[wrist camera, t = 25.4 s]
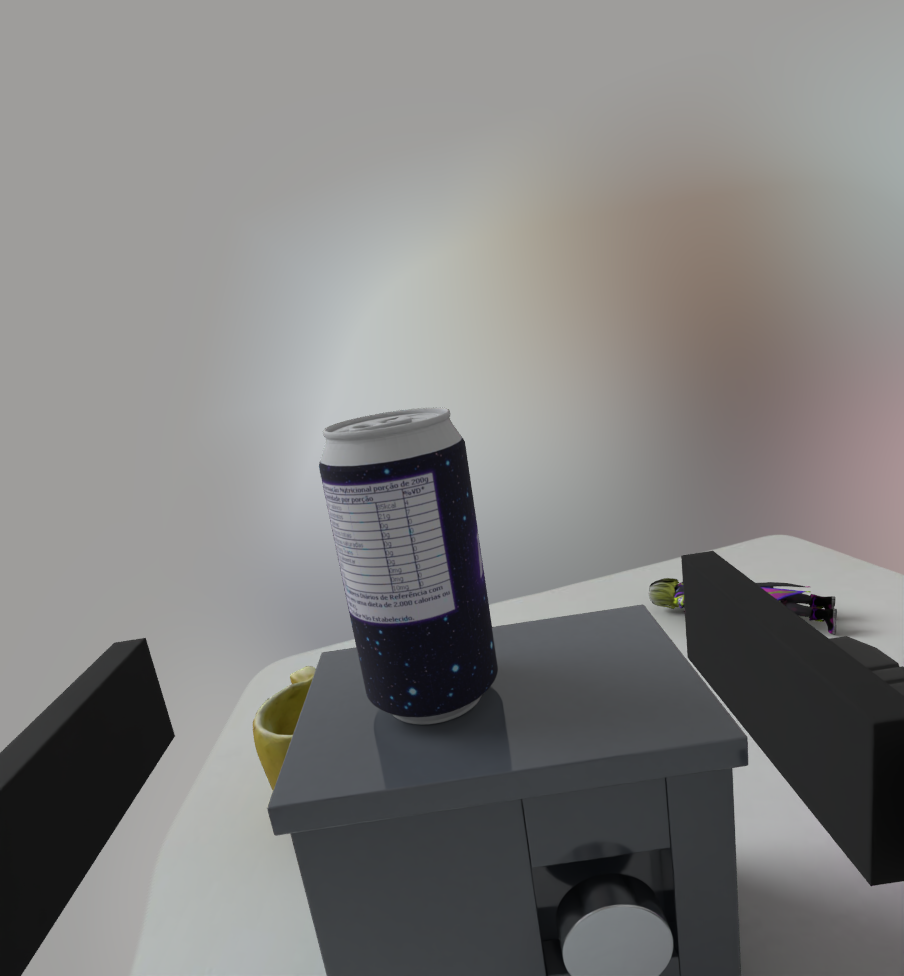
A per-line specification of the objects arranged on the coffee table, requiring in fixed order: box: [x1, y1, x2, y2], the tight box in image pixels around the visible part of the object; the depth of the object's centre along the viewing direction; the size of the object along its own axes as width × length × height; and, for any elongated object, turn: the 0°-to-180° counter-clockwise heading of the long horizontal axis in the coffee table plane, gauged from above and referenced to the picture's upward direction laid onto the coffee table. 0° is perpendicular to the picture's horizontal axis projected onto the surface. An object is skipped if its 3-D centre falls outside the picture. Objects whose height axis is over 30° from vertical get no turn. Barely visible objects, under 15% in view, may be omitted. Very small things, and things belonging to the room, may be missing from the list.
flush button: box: [555, 873, 673, 976], centre depth 23 cm, size 4×1×4 cm, turn 92°
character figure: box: [649, 578, 837, 635], centre depth 58 cm, size 9×4×16 cm
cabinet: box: [267, 605, 748, 976], centre depth 28 cm, size 17×11×15 cm, turn 92°
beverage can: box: [319, 408, 498, 725], centre depth 25 cm, size 6×6×12 cm
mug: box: [253, 666, 316, 790], centre depth 43 cm, size 12×10×10 cm
